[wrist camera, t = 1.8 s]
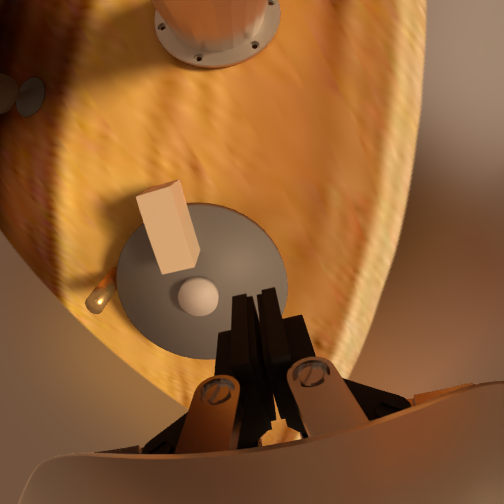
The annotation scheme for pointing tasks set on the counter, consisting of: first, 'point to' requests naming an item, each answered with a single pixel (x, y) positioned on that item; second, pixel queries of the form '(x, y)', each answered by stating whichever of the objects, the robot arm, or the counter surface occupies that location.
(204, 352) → the disc
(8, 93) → the sundae
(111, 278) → the brown rounded oblong piece
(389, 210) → the counter surface
